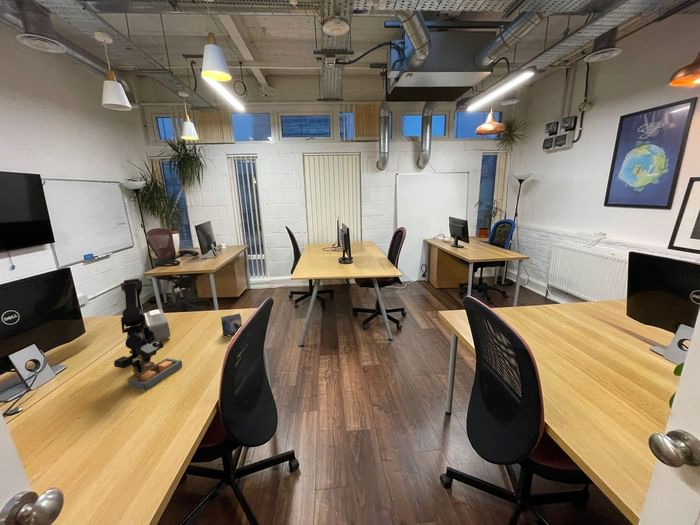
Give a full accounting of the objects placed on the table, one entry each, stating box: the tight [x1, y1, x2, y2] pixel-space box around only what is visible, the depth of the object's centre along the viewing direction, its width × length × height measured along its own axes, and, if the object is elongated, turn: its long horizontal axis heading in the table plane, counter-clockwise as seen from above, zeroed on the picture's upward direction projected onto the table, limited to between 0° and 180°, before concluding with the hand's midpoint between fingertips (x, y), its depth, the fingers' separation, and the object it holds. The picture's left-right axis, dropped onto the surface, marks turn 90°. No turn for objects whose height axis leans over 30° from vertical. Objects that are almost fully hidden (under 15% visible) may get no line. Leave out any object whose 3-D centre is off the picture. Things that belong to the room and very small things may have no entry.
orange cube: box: [158, 361, 173, 373], centre depth 131 cm, size 4×4×4 cm
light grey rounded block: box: [143, 308, 171, 342], centre depth 168 cm, size 27×9×12 cm, turn 40°
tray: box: [128, 357, 183, 391], centre depth 127 cm, size 9×18×3 cm, turn 162°
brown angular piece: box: [131, 358, 168, 382], centre depth 129 cm, size 11×14×5 cm
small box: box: [220, 313, 243, 337], centre depth 166 cm, size 11×6×10 cm, turn 117°
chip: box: [141, 371, 158, 382], centre depth 123 cm, size 4×4×4 cm
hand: (143, 370), depth 130 cm, fingers closed on brown angular piece, 3 cm apart
